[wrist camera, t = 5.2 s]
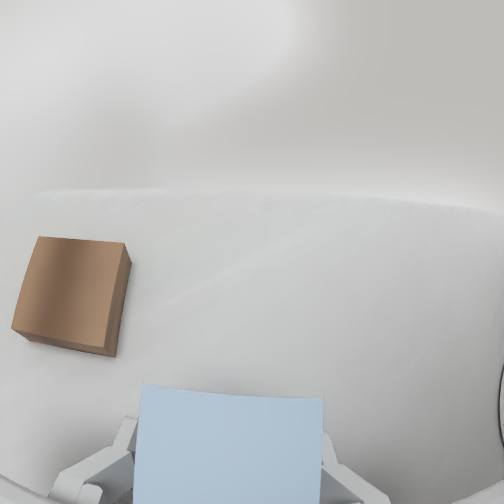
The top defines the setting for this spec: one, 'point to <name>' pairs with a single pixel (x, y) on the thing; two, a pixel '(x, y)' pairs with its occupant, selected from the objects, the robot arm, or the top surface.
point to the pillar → (227, 448)
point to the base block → (74, 294)
